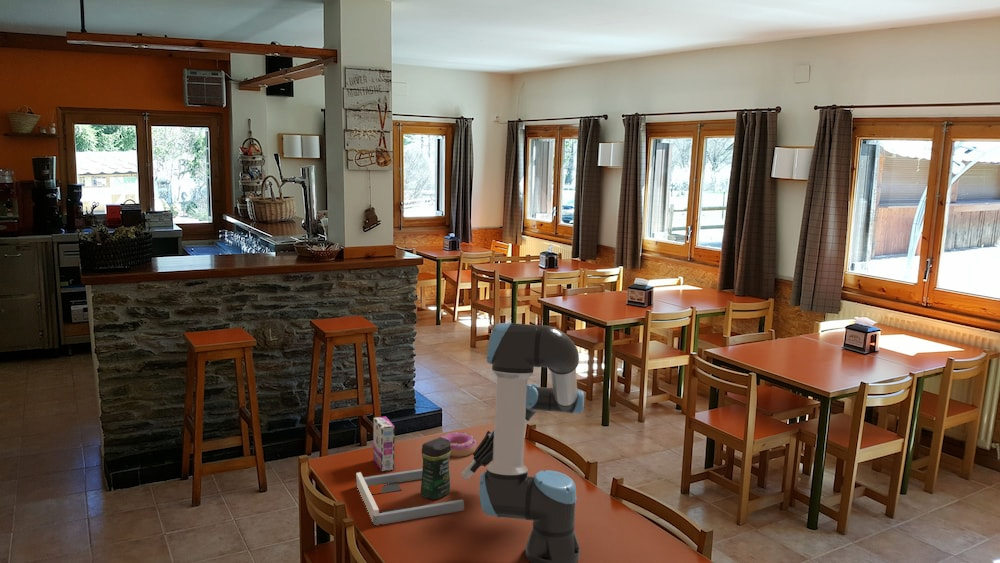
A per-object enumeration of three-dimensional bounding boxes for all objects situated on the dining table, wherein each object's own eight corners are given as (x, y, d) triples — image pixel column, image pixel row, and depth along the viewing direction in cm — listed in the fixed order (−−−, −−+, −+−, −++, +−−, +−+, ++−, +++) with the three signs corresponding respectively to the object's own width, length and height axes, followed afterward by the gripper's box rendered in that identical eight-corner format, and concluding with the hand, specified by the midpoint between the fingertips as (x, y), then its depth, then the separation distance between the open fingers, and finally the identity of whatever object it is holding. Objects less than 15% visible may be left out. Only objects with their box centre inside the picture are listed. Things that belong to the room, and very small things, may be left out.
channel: (463, 510, 228) (464, 495, 227) (374, 525, 217) (373, 510, 216) (438, 474, 252) (438, 461, 251) (356, 486, 242) (356, 472, 241)
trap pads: (416, 516, 223) (416, 515, 223) (384, 521, 220) (384, 520, 220) (397, 482, 245) (397, 482, 245) (367, 487, 241) (367, 486, 241)
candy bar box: (395, 470, 255) (395, 426, 252) (381, 472, 252) (381, 428, 250) (386, 458, 265) (386, 415, 262) (372, 460, 262) (372, 417, 260)
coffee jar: (434, 503, 232) (435, 448, 229) (416, 495, 237) (417, 441, 233) (454, 492, 239) (455, 439, 236) (437, 485, 244) (437, 433, 241)
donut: (447, 461, 264) (448, 448, 263) (432, 447, 276) (432, 434, 275) (482, 454, 270) (483, 441, 269) (466, 440, 283) (466, 428, 282)
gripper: (526, 437, 240) (477, 492, 237) (510, 423, 252) (464, 475, 249) (511, 424, 237) (462, 479, 234) (497, 410, 249) (450, 462, 246)
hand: (463, 477), depth 241 cm, fingers closed
